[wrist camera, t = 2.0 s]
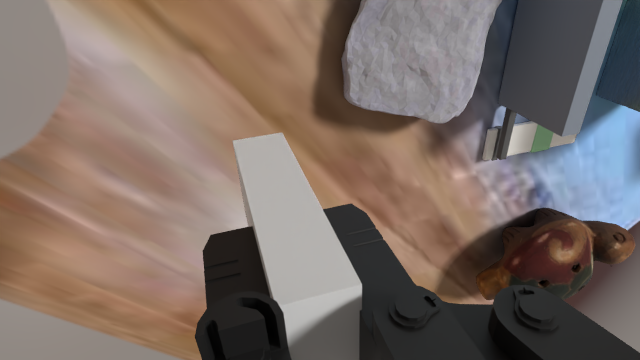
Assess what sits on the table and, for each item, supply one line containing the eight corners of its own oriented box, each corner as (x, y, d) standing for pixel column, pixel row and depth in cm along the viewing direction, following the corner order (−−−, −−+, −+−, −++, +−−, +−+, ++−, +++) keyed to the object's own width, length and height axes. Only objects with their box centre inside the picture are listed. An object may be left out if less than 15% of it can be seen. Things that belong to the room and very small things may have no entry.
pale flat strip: (488, 128, 36) (491, 130, 35) (580, 111, 38) (584, 113, 37) (482, 159, 37) (485, 161, 37) (570, 141, 40) (574, 143, 39)
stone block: (327, 97, 32) (444, 113, 34) (335, 116, 28) (469, 134, 29) (357, -76, 27) (494, -48, 28) (372, -86, 23) (533, -52, 24)
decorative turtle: (588, 218, 47) (649, 269, 41) (475, 286, 49) (516, 345, 43) (576, 167, 41) (646, 217, 35) (448, 247, 43) (492, 308, 37)
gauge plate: (538, -97, 27) (635, -105, 21) (556, -98, 27) (657, -106, 21) (487, 154, 37) (544, 195, 31) (501, 151, 37) (559, 191, 31)
